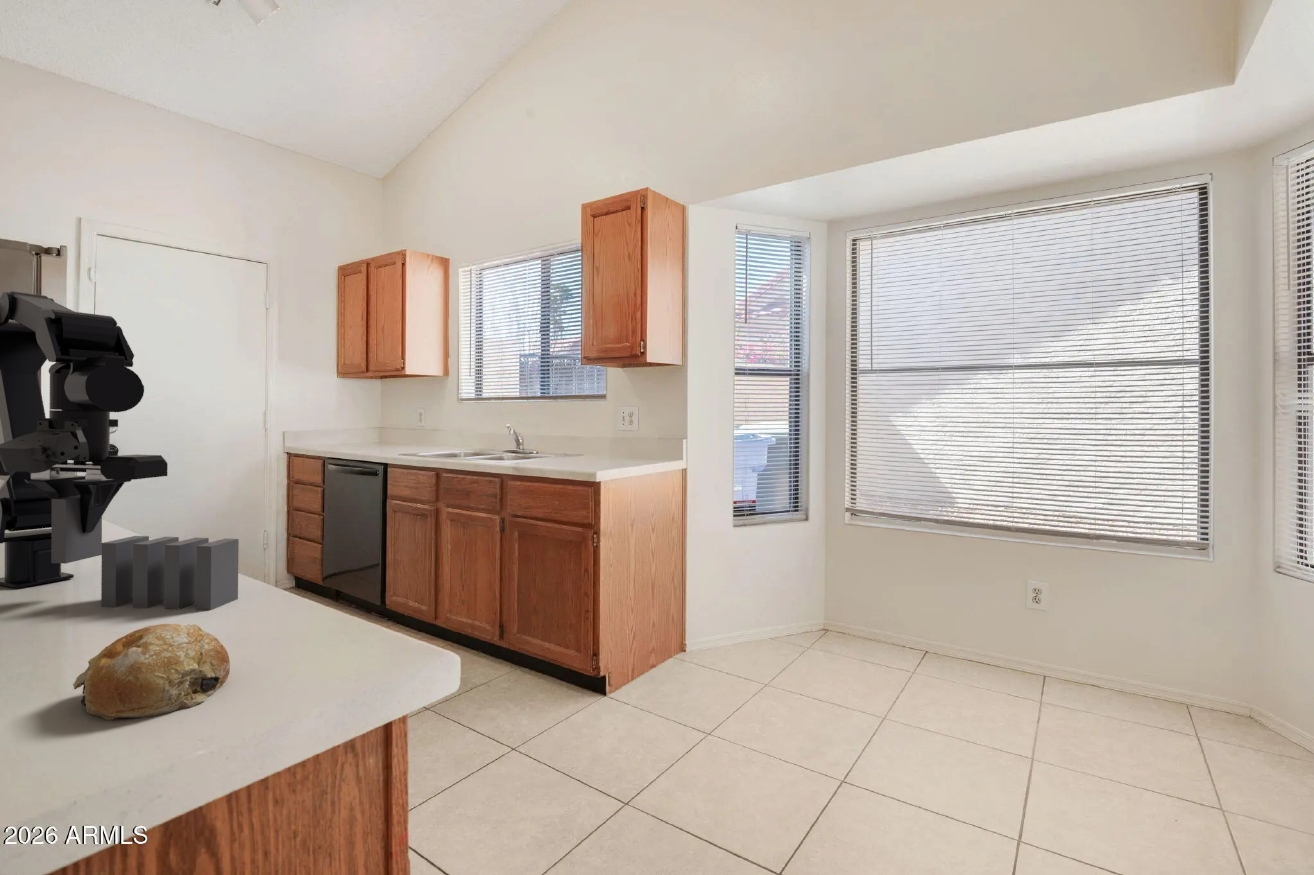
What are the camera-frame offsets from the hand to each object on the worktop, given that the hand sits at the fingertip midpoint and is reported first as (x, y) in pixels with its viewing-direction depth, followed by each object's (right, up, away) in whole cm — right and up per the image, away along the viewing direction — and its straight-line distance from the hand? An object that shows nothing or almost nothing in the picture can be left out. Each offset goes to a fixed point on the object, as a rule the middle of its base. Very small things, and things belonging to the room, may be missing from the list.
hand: (79, 532), depth 81 cm
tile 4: (+14, -9, 0) cm, 17 cm away
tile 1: (0, -3, 0) cm, 3 cm away
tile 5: (+18, -9, 0) cm, 20 cm away
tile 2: (+6, -9, 0) cm, 11 cm away
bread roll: (+30, -11, -26) cm, 42 cm away
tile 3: (+10, -9, 0) cm, 13 cm away
